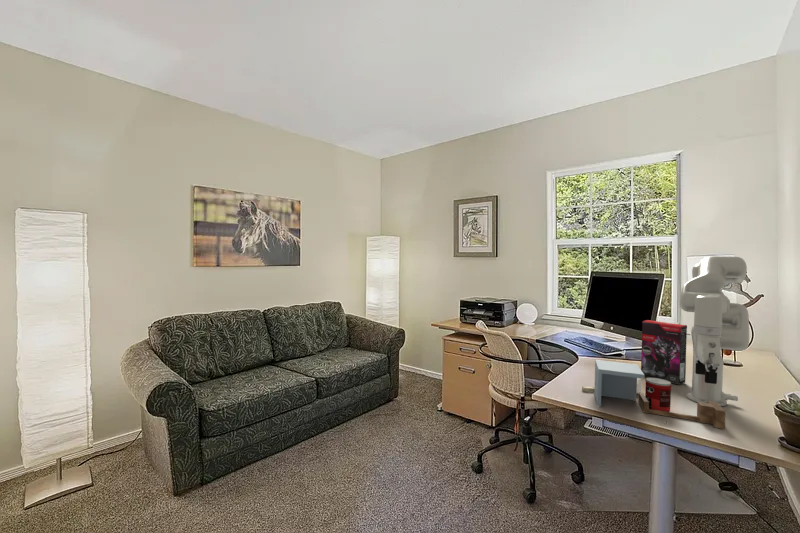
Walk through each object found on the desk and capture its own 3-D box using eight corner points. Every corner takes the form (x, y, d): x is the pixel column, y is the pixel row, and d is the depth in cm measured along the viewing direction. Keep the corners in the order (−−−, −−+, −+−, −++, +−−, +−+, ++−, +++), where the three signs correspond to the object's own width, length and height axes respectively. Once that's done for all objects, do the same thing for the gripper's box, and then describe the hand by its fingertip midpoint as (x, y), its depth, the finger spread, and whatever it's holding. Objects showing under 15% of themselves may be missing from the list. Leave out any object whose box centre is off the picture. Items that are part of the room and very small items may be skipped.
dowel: (611, 392, 160) (611, 388, 160) (613, 394, 158) (613, 389, 158) (582, 390, 161) (582, 386, 161) (583, 392, 159) (583, 387, 159)
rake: (709, 412, 139) (709, 396, 139) (724, 429, 126) (725, 411, 125) (638, 402, 148) (638, 387, 148) (645, 416, 135) (646, 399, 135)
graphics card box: (639, 375, 184) (641, 320, 183) (646, 373, 188) (648, 319, 187) (679, 385, 170) (681, 326, 169) (686, 383, 173) (688, 325, 173)
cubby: (635, 399, 151) (637, 364, 151) (643, 413, 137) (644, 374, 137) (594, 393, 157) (595, 359, 157) (597, 406, 144) (598, 369, 143)
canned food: (645, 403, 147) (646, 376, 147) (670, 408, 143) (671, 380, 142) (644, 409, 141) (645, 381, 141) (669, 415, 136) (671, 385, 136)
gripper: (731, 337, 121) (728, 388, 122) (711, 326, 137) (709, 372, 138) (702, 335, 124) (700, 385, 125) (686, 325, 140) (685, 369, 141)
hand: (705, 378), depth 132 cm, fingers open, 9 cm apart
